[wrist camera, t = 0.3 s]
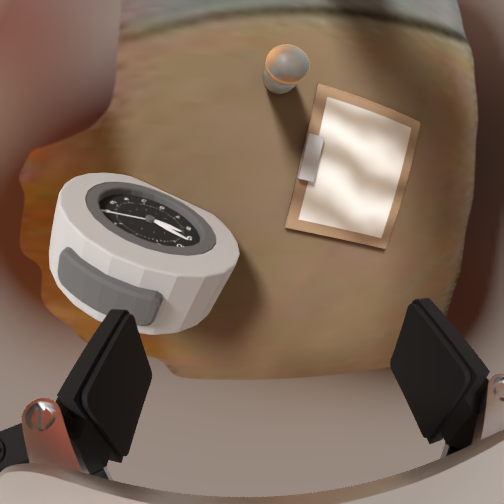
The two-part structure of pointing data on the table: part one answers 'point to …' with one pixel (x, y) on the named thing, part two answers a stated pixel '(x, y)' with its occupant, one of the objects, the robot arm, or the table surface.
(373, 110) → the clipboard
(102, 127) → the table surface
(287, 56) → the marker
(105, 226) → the alarm clock
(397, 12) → the table surface
